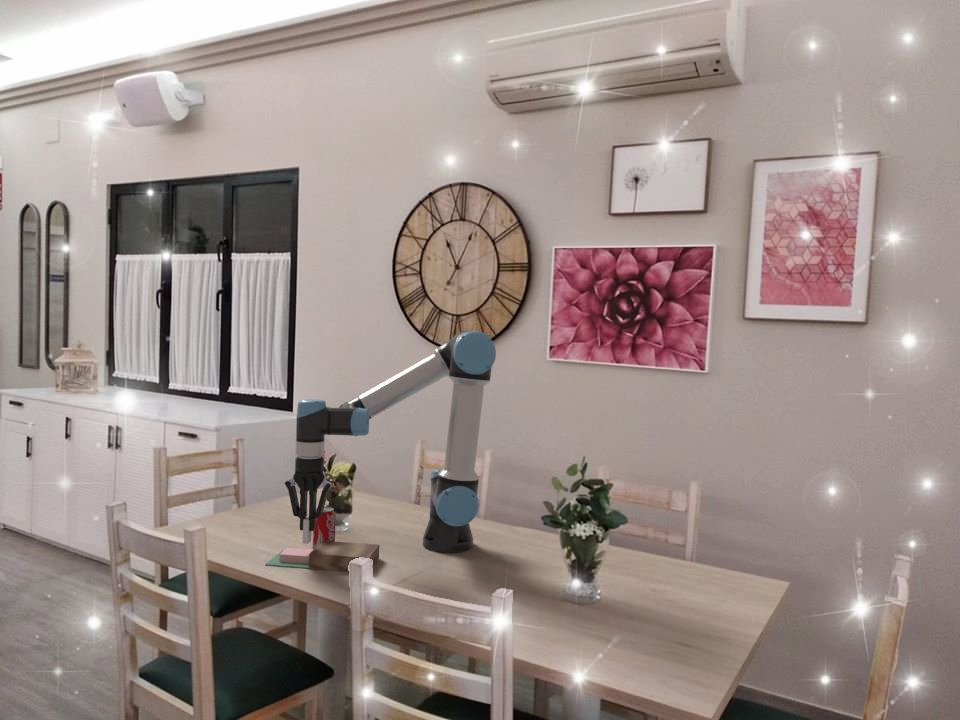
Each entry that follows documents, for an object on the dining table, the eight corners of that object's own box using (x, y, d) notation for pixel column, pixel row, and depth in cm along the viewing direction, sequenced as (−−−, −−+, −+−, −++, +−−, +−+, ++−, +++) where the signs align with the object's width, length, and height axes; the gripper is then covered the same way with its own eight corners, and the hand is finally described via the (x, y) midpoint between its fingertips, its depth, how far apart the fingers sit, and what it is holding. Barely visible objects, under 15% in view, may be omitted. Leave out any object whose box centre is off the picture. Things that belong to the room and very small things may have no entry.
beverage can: (322, 555, 201) (323, 513, 200) (307, 550, 204) (309, 509, 204) (339, 550, 206) (340, 509, 205) (324, 545, 209) (326, 505, 209)
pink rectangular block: (318, 557, 198) (319, 549, 198) (311, 563, 192) (311, 556, 192) (287, 554, 199) (287, 547, 199) (279, 561, 193) (279, 554, 193)
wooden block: (379, 558, 199) (379, 544, 199) (368, 573, 188) (368, 557, 187) (323, 554, 201) (323, 540, 201) (308, 568, 189) (309, 553, 189)
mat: (323, 554, 201) (323, 553, 201) (308, 568, 189) (308, 567, 189) (281, 551, 202) (282, 550, 202) (265, 565, 190) (265, 564, 190)
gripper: (337, 455, 197) (334, 539, 198) (291, 452, 199) (288, 536, 199) (328, 460, 190) (325, 547, 191) (281, 457, 191) (278, 544, 192)
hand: (306, 542), depth 195 cm, fingers closed
